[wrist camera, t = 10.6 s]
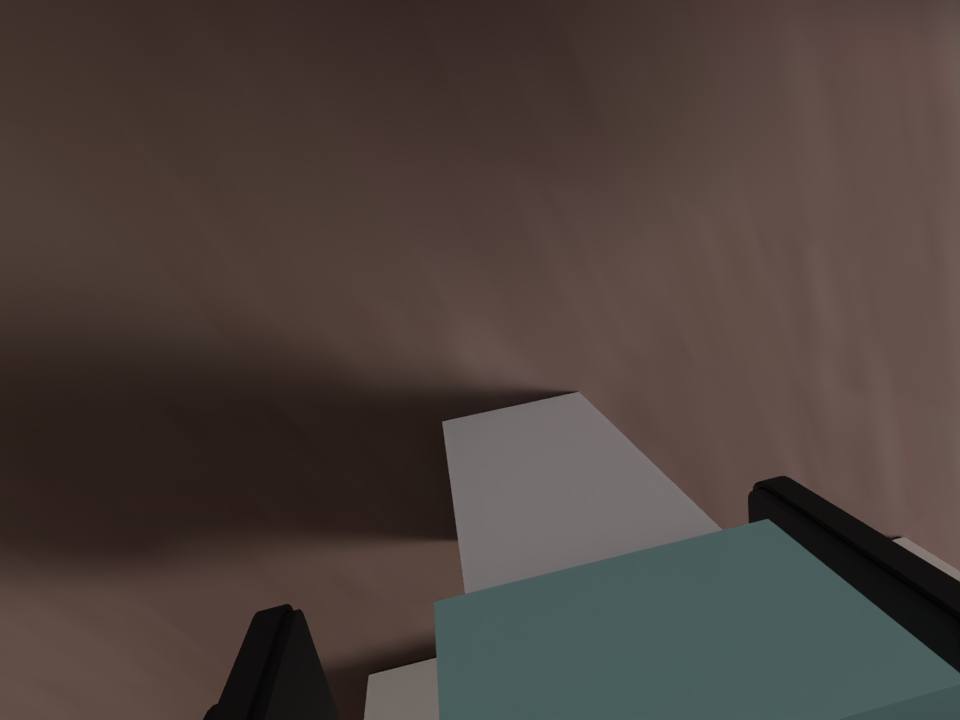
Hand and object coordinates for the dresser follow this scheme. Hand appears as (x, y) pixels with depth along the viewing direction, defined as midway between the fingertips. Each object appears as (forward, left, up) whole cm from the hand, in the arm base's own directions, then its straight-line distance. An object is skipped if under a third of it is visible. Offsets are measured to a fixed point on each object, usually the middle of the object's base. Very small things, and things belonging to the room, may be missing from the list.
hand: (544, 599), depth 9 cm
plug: (-1, 0, -5) cm, 5 cm away
